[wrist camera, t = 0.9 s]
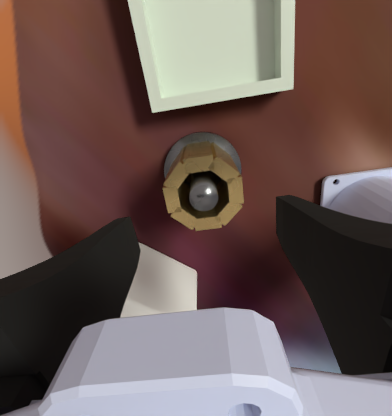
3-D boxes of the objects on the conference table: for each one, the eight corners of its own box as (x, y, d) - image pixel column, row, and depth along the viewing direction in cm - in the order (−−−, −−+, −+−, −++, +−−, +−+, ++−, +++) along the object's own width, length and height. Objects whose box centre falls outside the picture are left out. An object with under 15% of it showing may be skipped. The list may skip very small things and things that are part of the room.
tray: (284, -99, 13) (297, -129, 11) (283, 89, 17) (293, 89, 16) (120, -60, 14) (109, -84, 12) (156, 111, 18) (152, 113, 16)
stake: (237, 125, 18) (252, 138, 13) (242, 199, 21) (257, 235, 16) (157, 138, 19) (141, 155, 14) (173, 209, 22) (164, 246, 16)
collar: (229, 137, 18) (239, 150, 14) (236, 207, 21) (246, 238, 16) (166, 147, 19) (156, 163, 14) (180, 214, 21) (176, 246, 17)
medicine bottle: (109, 285, 26) (44, 422, 15) (137, 239, 23) (82, 365, 12) (165, 310, 27) (144, 450, 17) (198, 269, 25) (197, 405, 14)
